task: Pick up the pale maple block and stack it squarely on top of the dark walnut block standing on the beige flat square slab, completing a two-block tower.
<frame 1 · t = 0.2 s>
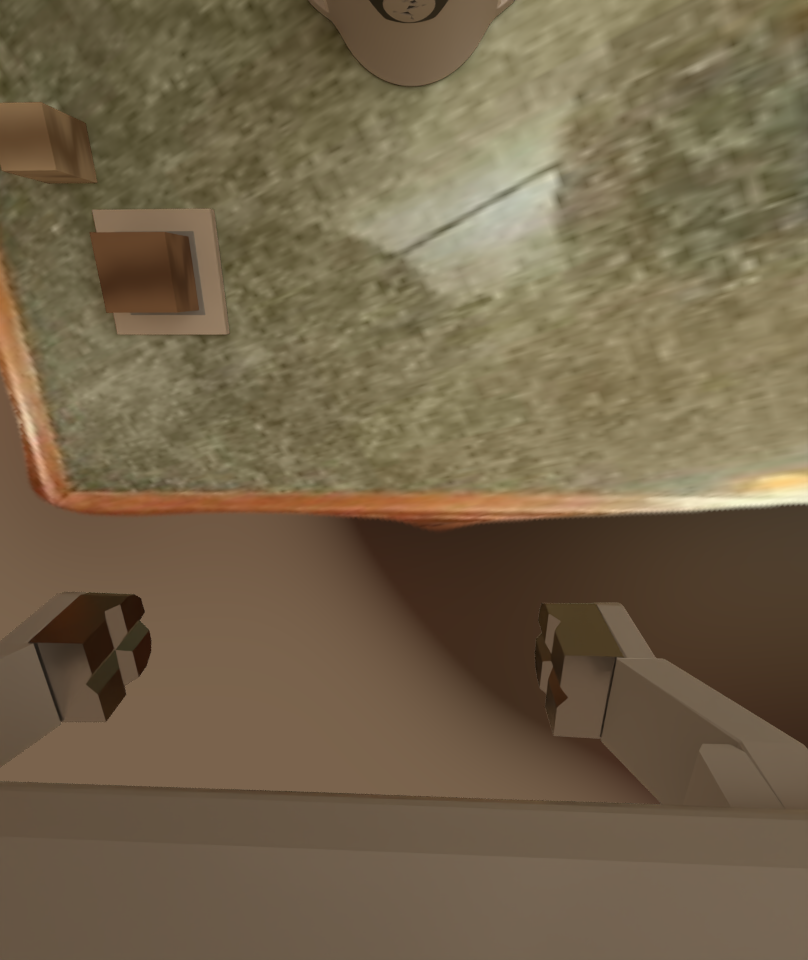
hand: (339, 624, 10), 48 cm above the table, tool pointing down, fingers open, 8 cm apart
maple block: (67, 154, 49), on the table
walnut block: (160, 274, 52), point 1 cm above the table, touching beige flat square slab
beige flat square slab: (166, 274, 53), on the table
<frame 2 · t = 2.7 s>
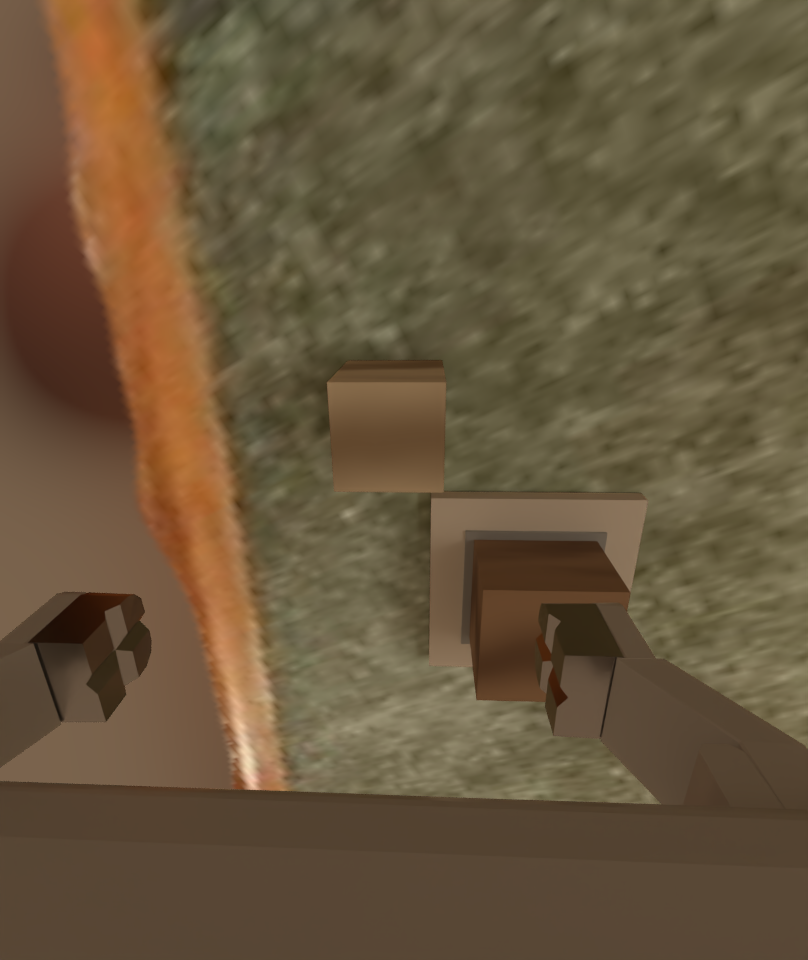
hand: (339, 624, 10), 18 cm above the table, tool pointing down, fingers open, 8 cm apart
maple block: (395, 406, 27), on the table
walnut block: (530, 591, 30), point 1 cm above the table, touching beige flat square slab
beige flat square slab: (526, 580, 31), on the table
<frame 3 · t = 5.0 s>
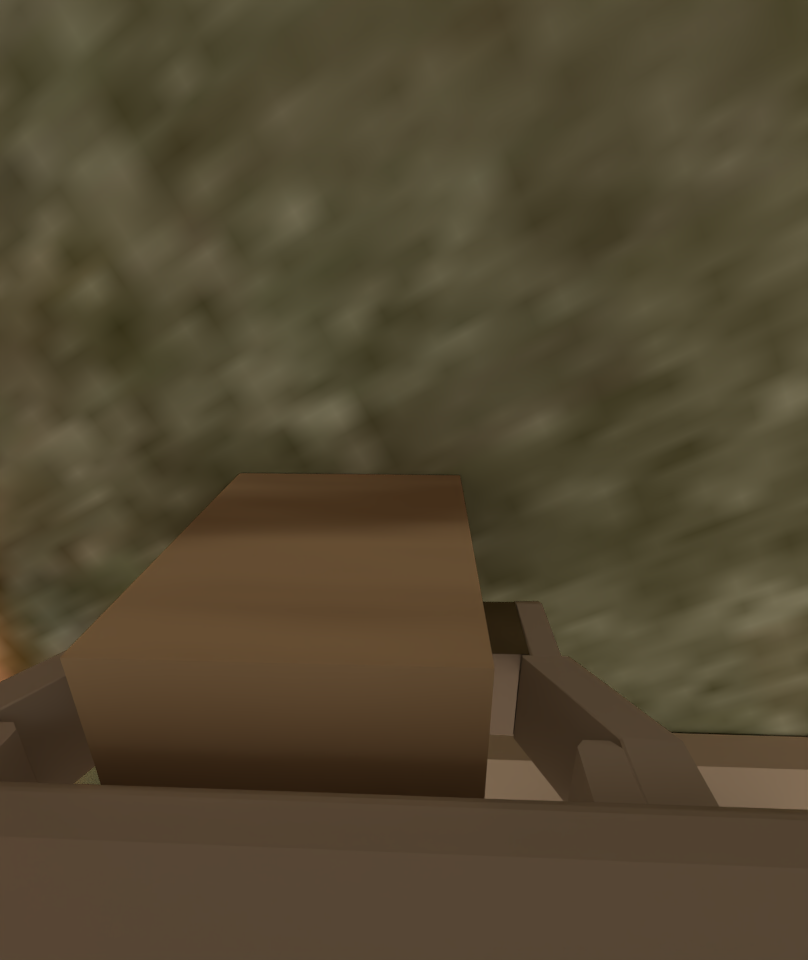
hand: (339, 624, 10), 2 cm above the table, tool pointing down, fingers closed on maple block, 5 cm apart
maple block: (353, 569, 12), on the table, touching gripper
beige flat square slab: (617, 872, 16), on the table
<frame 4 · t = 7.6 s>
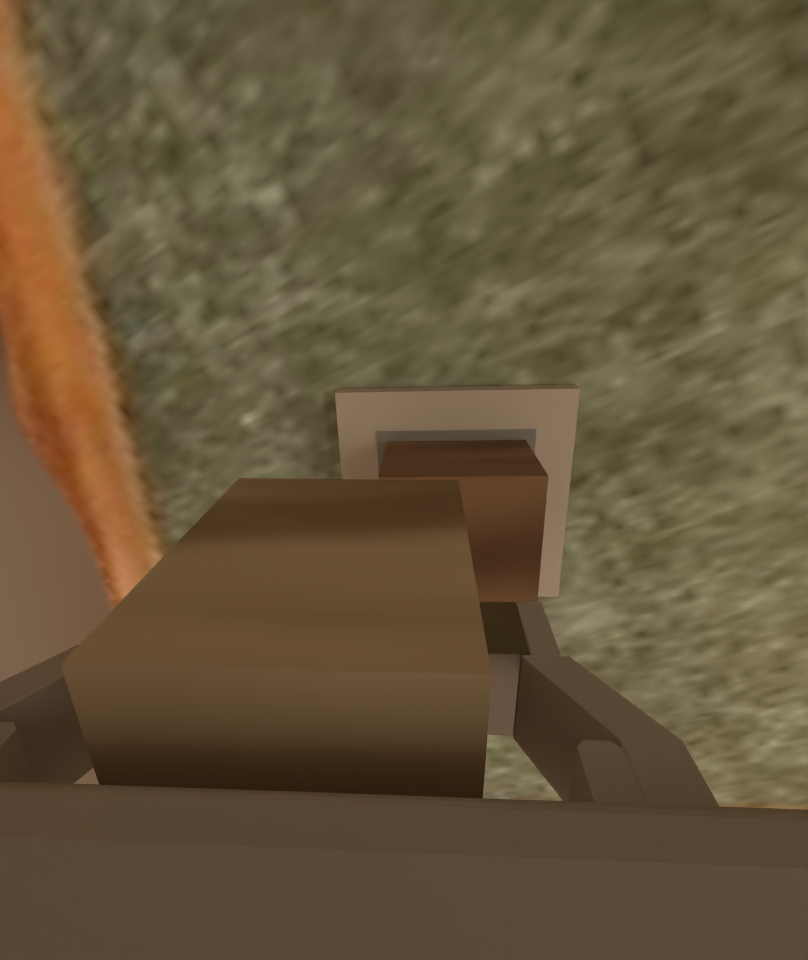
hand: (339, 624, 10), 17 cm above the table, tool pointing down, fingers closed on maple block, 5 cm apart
maple block: (352, 574, 12), point 15 cm above the table, touching gripper
walnut block: (454, 503, 26), point 1 cm above the table, touching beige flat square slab
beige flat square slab: (453, 494, 28), on the table
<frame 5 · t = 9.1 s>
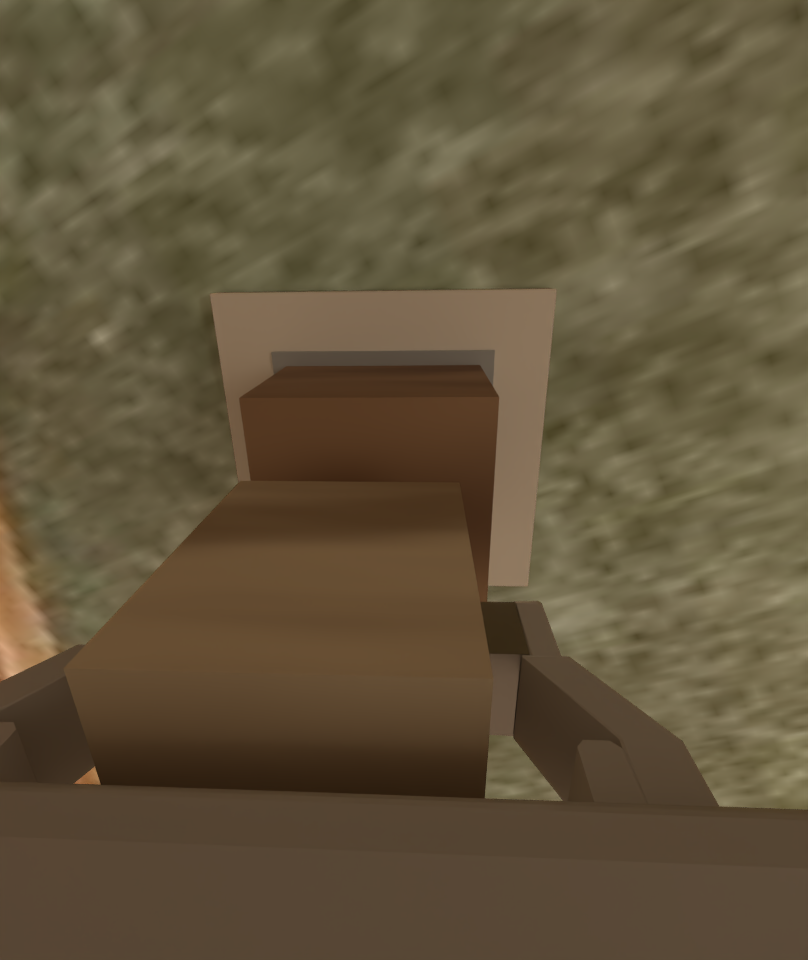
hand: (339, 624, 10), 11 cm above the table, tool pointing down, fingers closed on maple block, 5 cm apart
maple block: (353, 576, 12), point 9 cm above the table, touching gripper
walnut block: (385, 457, 19), point 1 cm above the table, touching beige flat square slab
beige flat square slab: (387, 447, 20), on the table
when the fingers open (10 cm above the table, at t = 10.2 s): maple block drops 1 cm, resting on walnut block.
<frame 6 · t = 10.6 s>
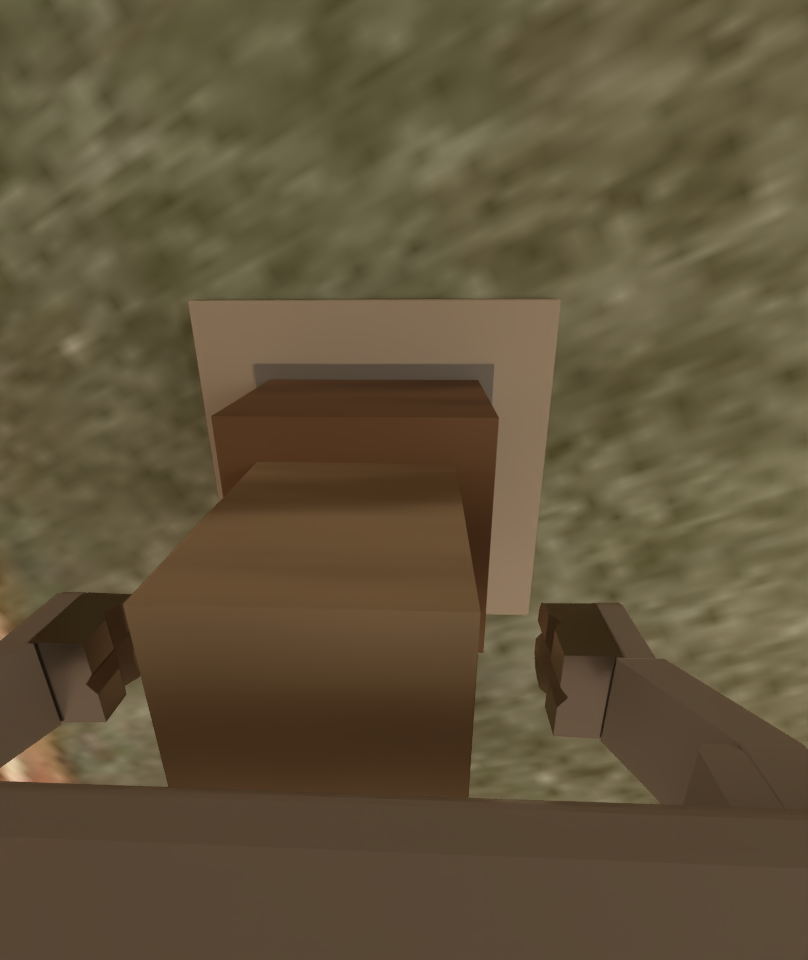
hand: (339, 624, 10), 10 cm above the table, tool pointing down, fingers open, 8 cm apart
maple block: (359, 550, 13), point 6 cm above the table, touching walnut block
walnut block: (376, 477, 18), point 1 cm above the table, touching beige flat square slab, maple block
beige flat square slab: (378, 465, 19), on the table
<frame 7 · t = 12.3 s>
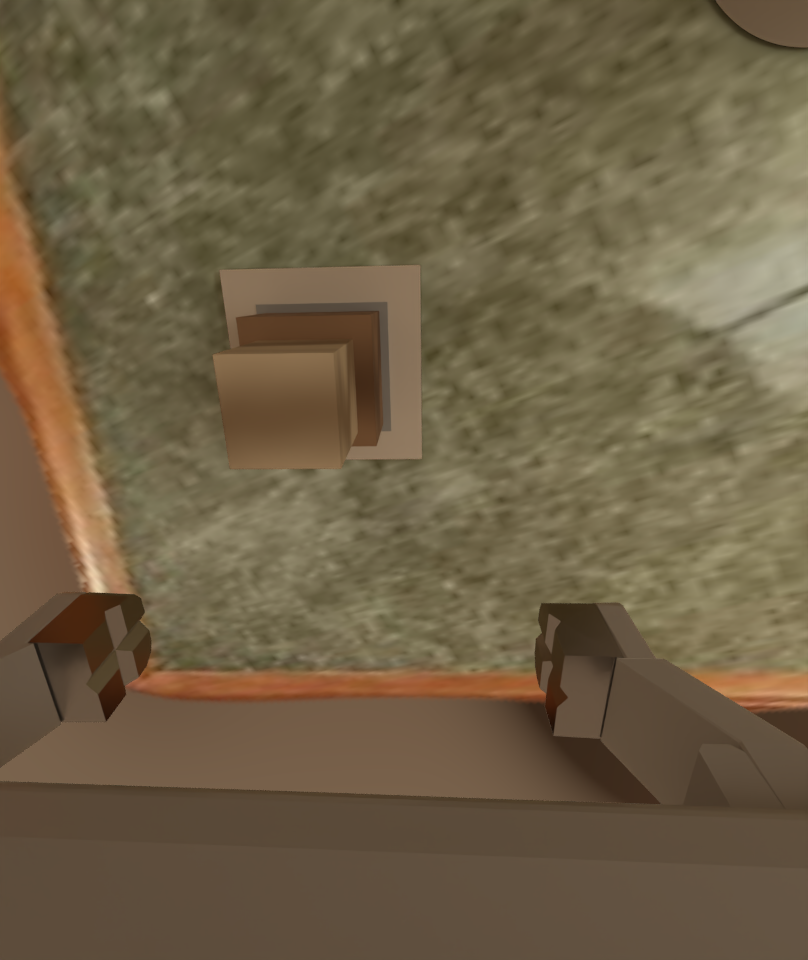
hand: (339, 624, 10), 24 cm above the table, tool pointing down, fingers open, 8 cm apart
maple block: (309, 387, 27), point 6 cm above the table, touching walnut block
walnut block: (326, 370, 31), point 1 cm above the table, touching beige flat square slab, maple block
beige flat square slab: (329, 367, 33), on the table
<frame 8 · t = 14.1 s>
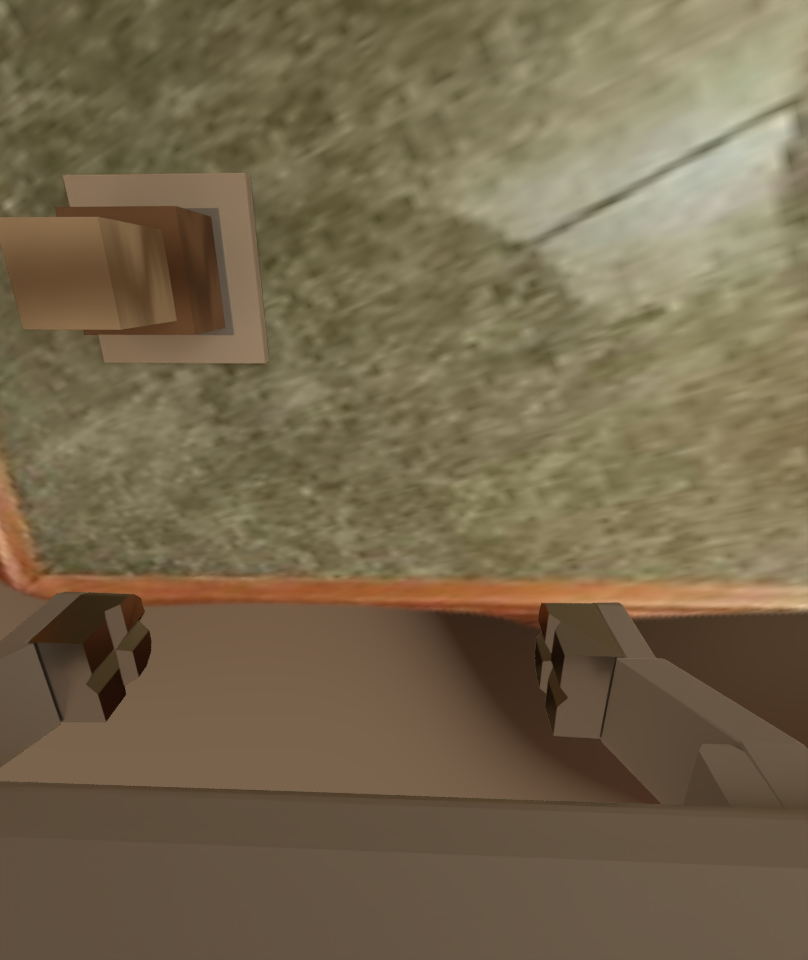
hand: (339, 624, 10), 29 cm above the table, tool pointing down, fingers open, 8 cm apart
maple block: (128, 276, 30), point 6 cm above the table, touching walnut block
walnut block: (168, 274, 34), point 1 cm above the table, touching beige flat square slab, maple block
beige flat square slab: (176, 274, 35), on the table
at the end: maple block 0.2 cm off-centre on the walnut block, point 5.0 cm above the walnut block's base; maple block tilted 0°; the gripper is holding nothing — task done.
